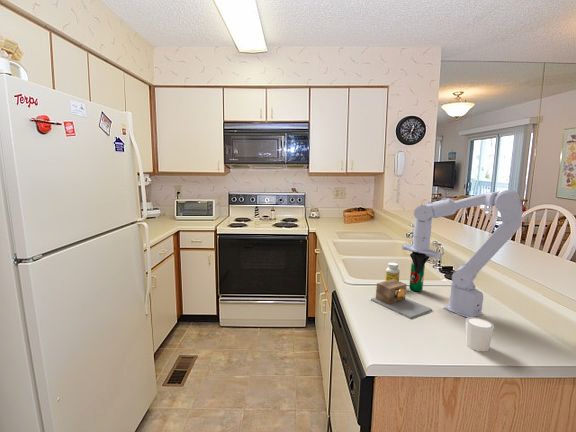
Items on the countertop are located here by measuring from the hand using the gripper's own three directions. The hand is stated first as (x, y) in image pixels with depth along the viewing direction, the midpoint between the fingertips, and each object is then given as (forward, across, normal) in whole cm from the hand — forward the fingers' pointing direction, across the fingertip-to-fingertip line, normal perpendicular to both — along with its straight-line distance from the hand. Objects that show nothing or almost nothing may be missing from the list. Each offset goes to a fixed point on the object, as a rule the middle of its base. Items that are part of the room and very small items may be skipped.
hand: (418, 272), depth 119 cm
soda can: (+11, -6, +8) cm, 14 cm away
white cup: (+10, +29, -14) cm, 34 cm away
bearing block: (+10, -4, -10) cm, 15 cm away
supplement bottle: (+11, -14, +3) cm, 18 cm away
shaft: (+8, -4, -10) cm, 14 cm away
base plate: (+10, +1, -10) cm, 14 cm away
